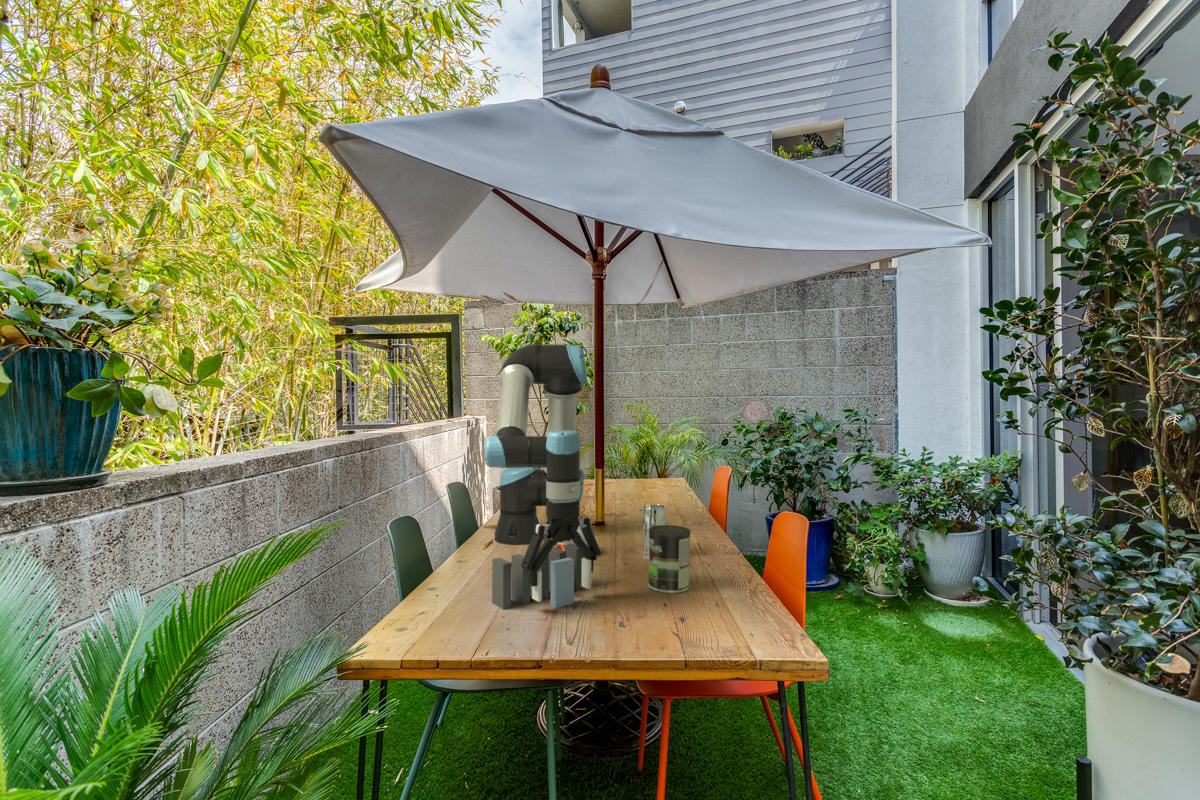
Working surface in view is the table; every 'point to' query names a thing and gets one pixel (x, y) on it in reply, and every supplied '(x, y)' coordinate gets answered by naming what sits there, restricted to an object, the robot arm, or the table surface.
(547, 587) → the domino
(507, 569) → the domino
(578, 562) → the domino
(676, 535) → the coffee can
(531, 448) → the robot arm
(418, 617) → the table surface
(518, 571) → the domino
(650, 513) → the silver metal cylinder
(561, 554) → the domino
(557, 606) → the domino
